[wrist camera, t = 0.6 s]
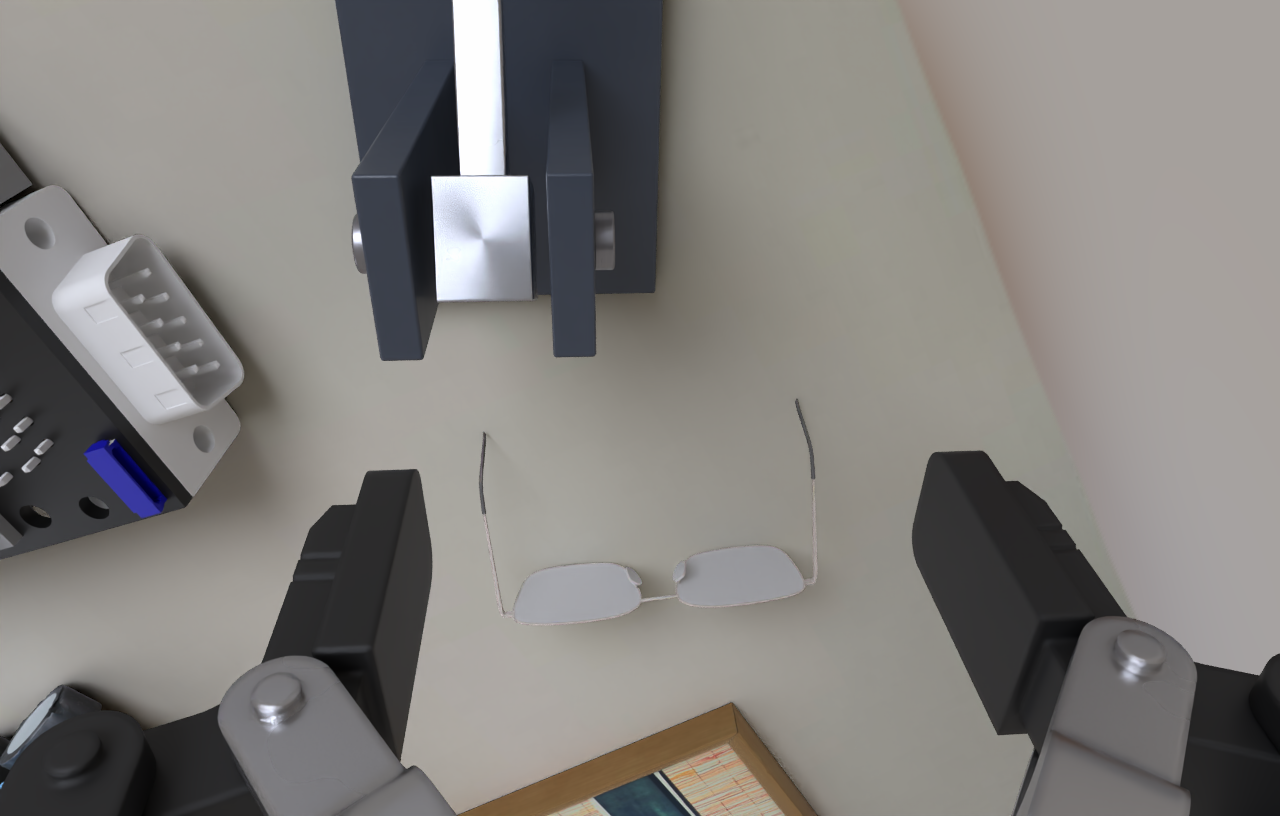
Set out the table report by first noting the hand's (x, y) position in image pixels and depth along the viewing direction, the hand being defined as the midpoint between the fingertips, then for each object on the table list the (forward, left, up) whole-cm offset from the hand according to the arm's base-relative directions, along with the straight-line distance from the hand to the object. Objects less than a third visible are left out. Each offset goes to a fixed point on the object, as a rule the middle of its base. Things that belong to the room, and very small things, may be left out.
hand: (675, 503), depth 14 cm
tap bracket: (-1, -4, -20) cm, 21 cm away
